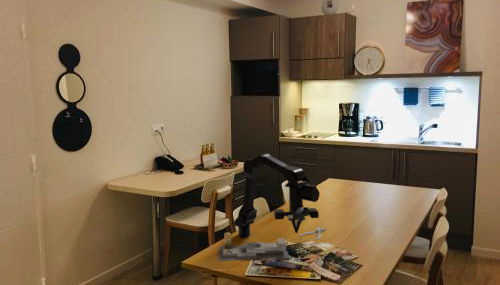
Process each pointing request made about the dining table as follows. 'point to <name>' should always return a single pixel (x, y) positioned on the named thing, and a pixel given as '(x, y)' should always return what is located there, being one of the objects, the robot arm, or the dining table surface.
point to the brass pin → (227, 240)
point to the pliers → (315, 232)
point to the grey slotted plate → (238, 253)
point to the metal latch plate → (266, 246)
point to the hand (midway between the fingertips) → (296, 232)
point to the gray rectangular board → (250, 257)
